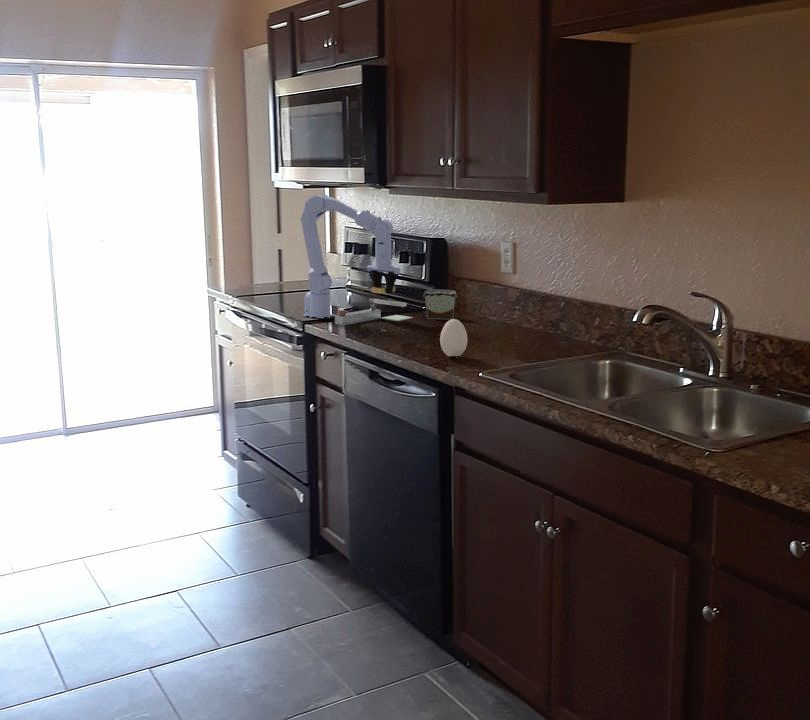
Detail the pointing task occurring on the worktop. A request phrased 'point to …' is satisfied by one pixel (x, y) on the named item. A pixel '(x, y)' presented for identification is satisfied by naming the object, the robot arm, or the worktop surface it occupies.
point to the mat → (397, 318)
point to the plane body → (357, 316)
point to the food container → (440, 304)
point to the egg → (453, 338)
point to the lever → (387, 302)
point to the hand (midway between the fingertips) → (383, 292)
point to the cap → (380, 289)
